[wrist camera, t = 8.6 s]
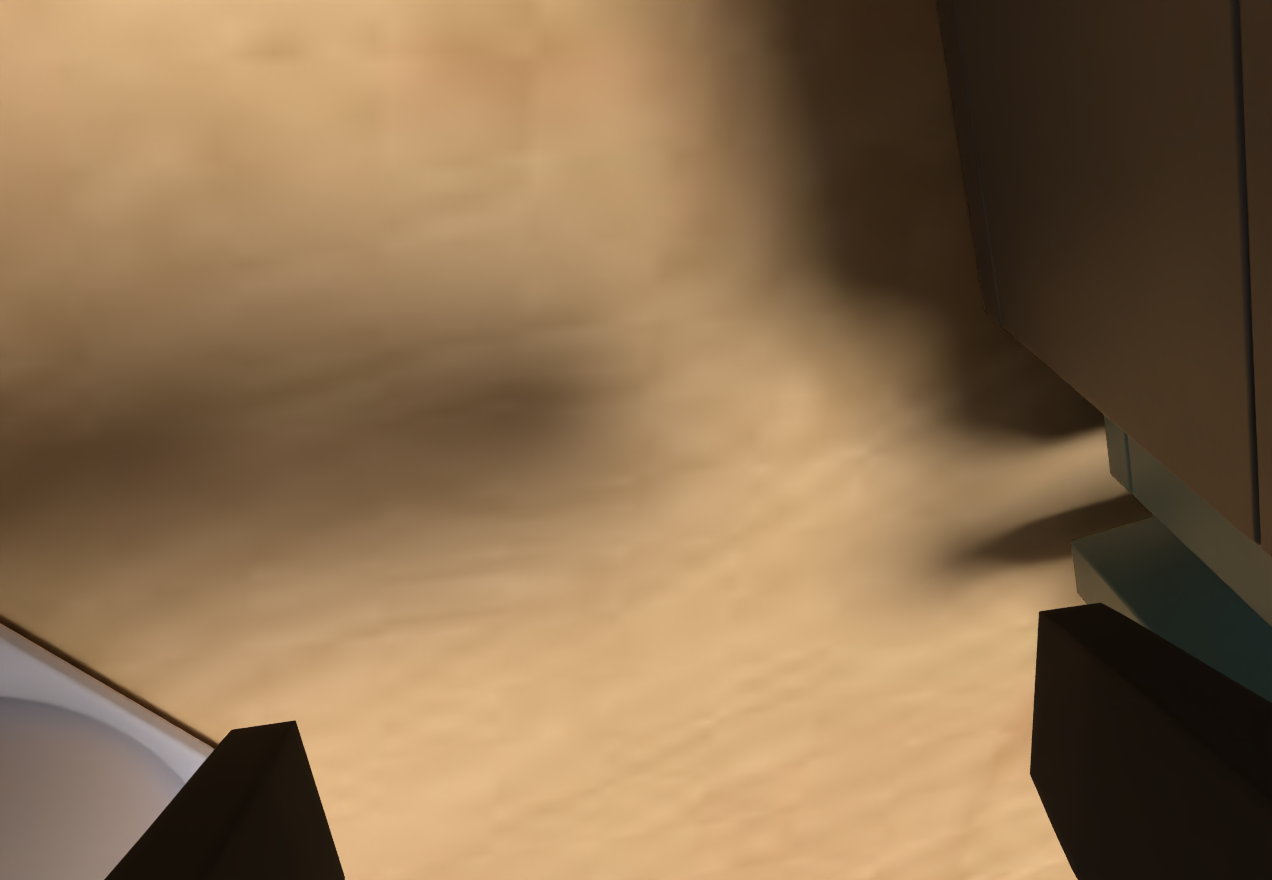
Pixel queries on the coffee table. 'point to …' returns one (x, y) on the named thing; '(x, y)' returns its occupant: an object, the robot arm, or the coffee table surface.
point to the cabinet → (1132, 216)
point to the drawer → (1181, 571)
